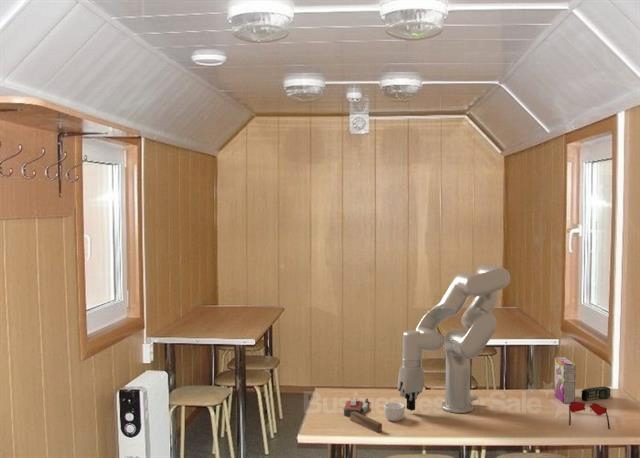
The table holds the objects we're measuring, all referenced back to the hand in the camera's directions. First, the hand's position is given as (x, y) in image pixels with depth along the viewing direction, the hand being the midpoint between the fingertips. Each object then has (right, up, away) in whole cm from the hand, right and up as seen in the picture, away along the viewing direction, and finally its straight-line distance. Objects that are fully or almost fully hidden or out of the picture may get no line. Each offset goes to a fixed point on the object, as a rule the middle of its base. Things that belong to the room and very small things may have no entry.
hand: (410, 409), depth 255 cm
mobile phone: (+80, -1, +17) cm, 82 cm away
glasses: (+66, -3, -8) cm, 66 cm away
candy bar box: (+66, -1, +17) cm, 68 cm away
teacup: (-7, -2, -5) cm, 9 cm away
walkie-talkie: (-21, -2, +6) cm, 22 cm away
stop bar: (-18, -3, -13) cm, 23 cm away
